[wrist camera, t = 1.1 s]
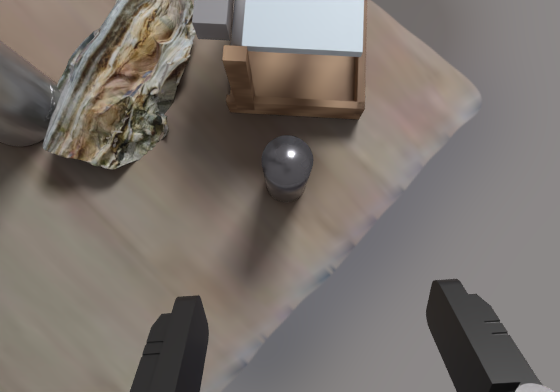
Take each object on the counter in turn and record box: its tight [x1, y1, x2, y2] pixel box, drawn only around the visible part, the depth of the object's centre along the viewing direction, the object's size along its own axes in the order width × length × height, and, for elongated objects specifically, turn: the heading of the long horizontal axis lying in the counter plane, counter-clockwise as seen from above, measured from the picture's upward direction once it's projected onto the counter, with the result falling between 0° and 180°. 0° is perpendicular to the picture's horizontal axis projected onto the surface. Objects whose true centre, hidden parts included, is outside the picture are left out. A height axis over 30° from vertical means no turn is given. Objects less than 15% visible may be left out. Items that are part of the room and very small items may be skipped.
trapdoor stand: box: [222, 0, 367, 119], centre depth 37 cm, size 15×14×12 cm
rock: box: [43, 0, 196, 169], centre depth 40 cm, size 23×7×15 cm
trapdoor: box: [192, 0, 364, 57], centre depth 33 cm, size 15×10×2 cm
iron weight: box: [262, 135, 313, 202], centre depth 36 cm, size 4×4×10 cm
